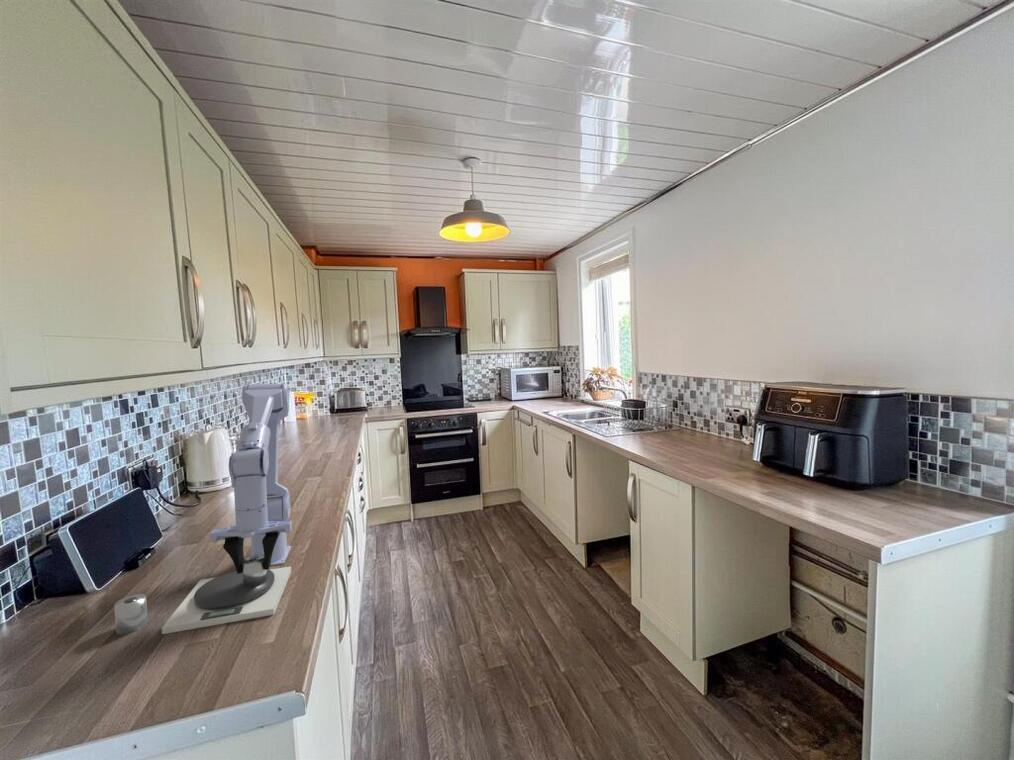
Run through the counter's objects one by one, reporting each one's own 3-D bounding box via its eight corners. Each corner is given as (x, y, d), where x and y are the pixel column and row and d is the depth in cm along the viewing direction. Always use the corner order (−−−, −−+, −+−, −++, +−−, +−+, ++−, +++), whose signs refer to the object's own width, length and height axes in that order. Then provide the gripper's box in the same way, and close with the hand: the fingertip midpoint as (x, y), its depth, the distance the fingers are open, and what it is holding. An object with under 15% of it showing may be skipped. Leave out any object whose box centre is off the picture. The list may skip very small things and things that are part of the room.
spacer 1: (124, 621, 78) (122, 595, 78) (152, 617, 79) (151, 591, 79) (110, 636, 74) (108, 609, 74) (140, 631, 75) (138, 604, 75)
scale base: (200, 584, 91) (200, 577, 90) (291, 571, 96) (291, 564, 96) (162, 634, 74) (161, 625, 74) (273, 614, 80) (273, 606, 80)
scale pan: (210, 577, 91) (209, 573, 91) (281, 567, 95) (280, 563, 95) (181, 615, 77) (180, 611, 77) (265, 601, 81) (265, 597, 81)
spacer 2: (245, 578, 88) (244, 555, 88) (268, 574, 90) (267, 552, 90) (240, 589, 84) (239, 565, 84) (264, 585, 86) (263, 561, 85)
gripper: (202, 517, 80) (206, 585, 81) (285, 508, 84) (288, 572, 85) (216, 505, 87) (219, 567, 88) (292, 497, 91) (295, 557, 92)
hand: (254, 569), depth 87 cm, fingers closed on spacer 2, 4 cm apart
